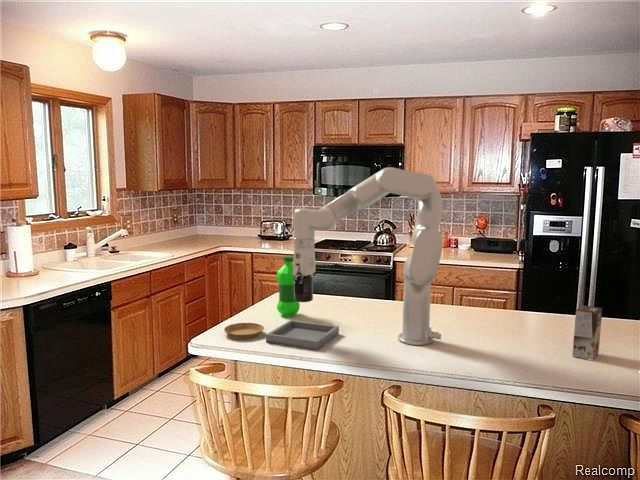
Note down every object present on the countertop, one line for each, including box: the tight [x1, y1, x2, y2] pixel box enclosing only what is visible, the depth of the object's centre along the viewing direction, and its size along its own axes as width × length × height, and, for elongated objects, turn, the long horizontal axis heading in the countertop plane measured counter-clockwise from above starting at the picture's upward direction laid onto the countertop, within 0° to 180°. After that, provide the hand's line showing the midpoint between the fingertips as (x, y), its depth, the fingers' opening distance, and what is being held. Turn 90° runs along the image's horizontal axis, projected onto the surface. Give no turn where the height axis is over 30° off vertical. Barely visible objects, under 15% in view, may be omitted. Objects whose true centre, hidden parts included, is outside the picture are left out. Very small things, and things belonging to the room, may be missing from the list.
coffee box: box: [571, 305, 603, 361], centre depth 176 cm, size 9×6×16 cm
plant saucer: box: [223, 322, 265, 340], centre depth 196 cm, size 15×15×3 cm
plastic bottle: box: [275, 255, 301, 318], centre depth 221 cm, size 10×10×25 cm
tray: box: [265, 319, 340, 351], centre depth 192 cm, size 20×20×3 cm
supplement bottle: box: [294, 273, 314, 303], centre depth 189 cm, size 7×7×12 cm
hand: (303, 291), depth 190 cm, fingers closed on supplement bottle, 6 cm apart
